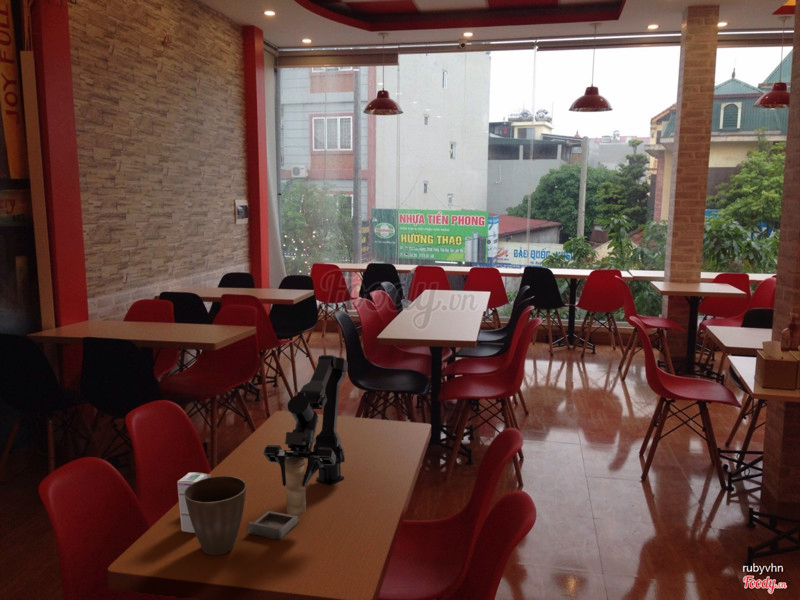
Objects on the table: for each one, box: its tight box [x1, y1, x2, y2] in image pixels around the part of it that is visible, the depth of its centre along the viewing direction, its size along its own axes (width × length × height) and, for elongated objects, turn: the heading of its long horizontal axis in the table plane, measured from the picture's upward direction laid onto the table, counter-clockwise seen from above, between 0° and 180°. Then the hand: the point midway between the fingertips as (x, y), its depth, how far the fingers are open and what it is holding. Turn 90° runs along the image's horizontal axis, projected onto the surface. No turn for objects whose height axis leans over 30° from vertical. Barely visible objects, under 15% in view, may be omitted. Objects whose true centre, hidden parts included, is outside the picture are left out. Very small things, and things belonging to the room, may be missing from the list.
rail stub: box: [285, 457, 307, 516], centre depth 165 cm, size 5×5×14 cm
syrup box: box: [177, 472, 208, 534], centre depth 168 cm, size 6×6×14 cm
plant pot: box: [184, 475, 247, 556], centre depth 158 cm, size 15×15×16 cm
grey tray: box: [247, 510, 299, 541], centre depth 168 cm, size 10×10×3 cm
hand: (293, 486), depth 163 cm, fingers closed on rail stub, 5 cm apart
